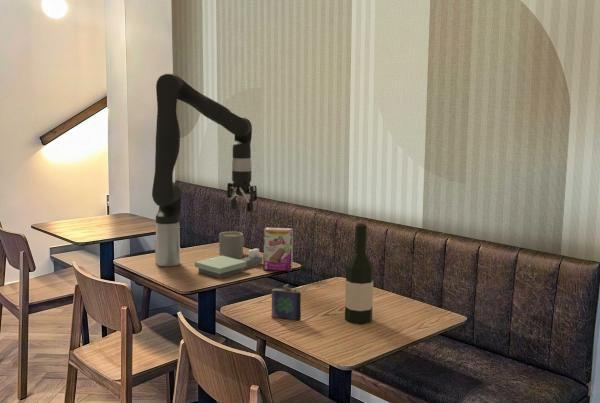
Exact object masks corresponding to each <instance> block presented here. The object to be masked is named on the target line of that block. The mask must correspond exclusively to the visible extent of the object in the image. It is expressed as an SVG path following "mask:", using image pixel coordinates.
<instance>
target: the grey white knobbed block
mask: <svg viewBox="0 0 600 403" xmlns="http://www.w3.org/2000/svg"><path fill="white" fill-rule="evenodd" d="M238 260H242V261H246V267H243V269H244V270H245V269H247V268H251V267H254V266H259V265H262V264H263V256H260V248H253V249H249V250H248V256H247V257H242V258H241V259H238Z"/></svg>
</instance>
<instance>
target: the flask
mask: <svg viewBox="0 0 600 403" xmlns="http://www.w3.org/2000/svg"><path fill="white" fill-rule="evenodd" d="M289 286H290V284H289V283H286V284H285V285H283V288H273V289H271V318H272V319H276V320H283V321H285V320H286V321H293V322H300V321H301V316H302V315H301V313H302V312H301V311H302V310H301V305H302V304H301V303H302V300H301V295H302V293H301V291H300V290H297V289H294V288H292V287H289Z"/></svg>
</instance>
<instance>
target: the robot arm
mask: <svg viewBox="0 0 600 403" xmlns="http://www.w3.org/2000/svg"><path fill="white" fill-rule="evenodd" d="M155 84H156V85H155V89H156V91H155V92H156V106H157V112H156V114H157V115H156V127H155V128H156V129H155V154H154V155H155V156H154V157H155V158H154V176H153V184H152V190H151V192H152V193H151V195H152V196H151V197H152V200H153V202H154V203H155V205H156V206H158V211H157V213H156V215H155V240H154V249H155V250H154V251H155V252H154V254H155V264H156V265H157V266H159V267H176V266H178V265H180V264H181V253H180V252H181V247H180V246H181V241H180V240H181V237H180V217H181V213H182V191H181V188H180V186H179V185H178V184H177V183H176V182H174V179H173V177H174V171H175V170H174V169H175V166H176V163H177V160H178V156H179V154H180V153H179V152H180V145H181V144H180V142H181V131H180V125H179V119H178V115H177V102H178V101H181V102H183V103H186V104H187V105H189V106H191V107H192V108H194V109H195V110H196V111H197V112H199V113H200V114H201V115H202V116H204V117H206V118H207V119H209V120H210V121H213V122H214V123H216V124H218V125H220V126H221V127H223V129H226V130H227V131H228V132H230V133H231V134H232V135H234V142H233V145H232V161H231V181H232V182H227V187H226V188H227V192H226V197H227V198H228V199H230V204H231V206H230V207H231V210H237V209H238V198H239V196H243V198H244V199H245V200H246V212H247V213H252V212H253V209H254V202H256V201H258V194H257V192H258V191H257V186H256V185H251V182H252V160H251V159H252V158H251V157H252V156H251V155H252V153H251V142H252V135H253V134H252V133H253V126H252V123H251V121H250V120H249V119H248V118H246V117H240V116H239V115H238V114H235V113H234V112H232V111H231V110H230V108H228V107H226V106H224V105H222V104H220V102H217V101H215V100H214V99H212V98H210V97H208V96H206V95H204V94H203V93H202V92H200V91H198V90H196V89H195V88H194V87H192V86H191V85H190V84H188V83H187V82H186V81H185V80H184V79H182V78H181V77H180V76H179V75H178V74H174V73H163V74H162V75H160V76H159V77H158V79H157V80H156V83H155Z"/></svg>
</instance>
